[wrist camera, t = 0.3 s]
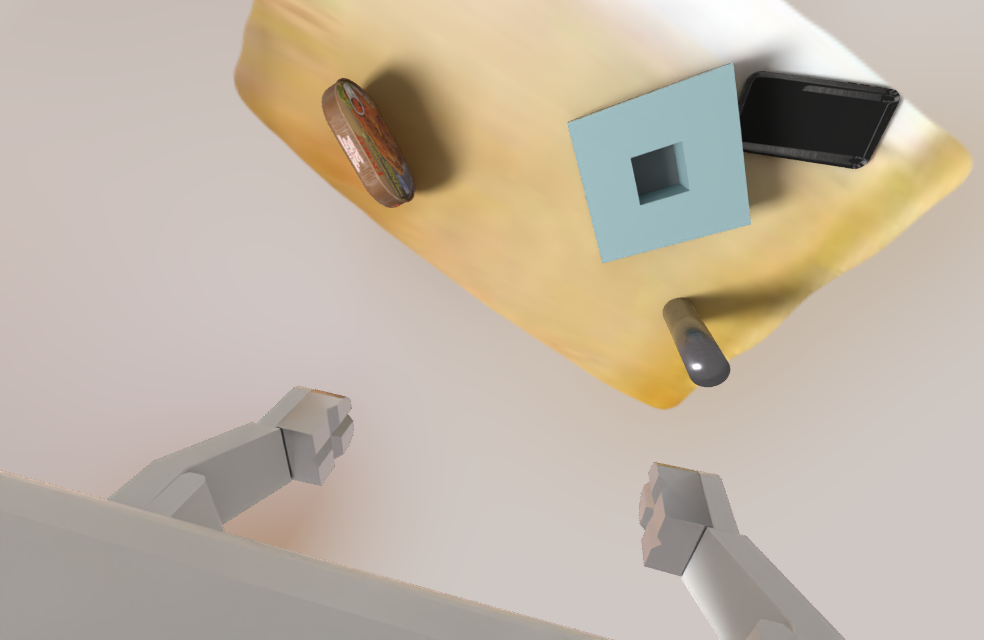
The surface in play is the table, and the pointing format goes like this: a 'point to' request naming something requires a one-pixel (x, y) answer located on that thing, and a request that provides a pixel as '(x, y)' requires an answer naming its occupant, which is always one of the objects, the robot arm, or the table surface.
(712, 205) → the hole block
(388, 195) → the tin
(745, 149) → the phone
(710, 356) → the pin
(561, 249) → the table surface
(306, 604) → the robot arm
